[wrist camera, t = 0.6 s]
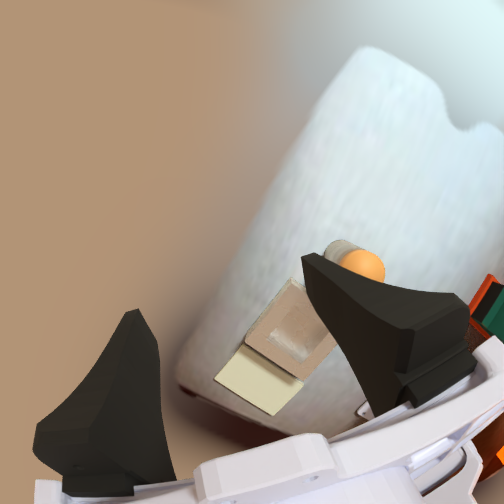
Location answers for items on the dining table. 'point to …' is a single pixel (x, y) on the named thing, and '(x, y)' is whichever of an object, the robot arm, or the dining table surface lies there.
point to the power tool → (488, 309)
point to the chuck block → (291, 332)
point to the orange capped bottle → (356, 259)
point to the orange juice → (501, 454)
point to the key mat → (258, 380)
